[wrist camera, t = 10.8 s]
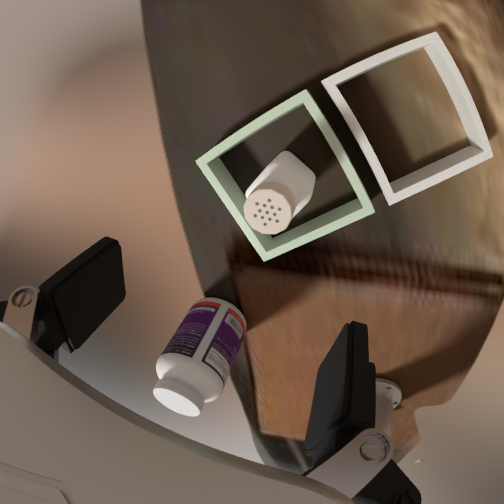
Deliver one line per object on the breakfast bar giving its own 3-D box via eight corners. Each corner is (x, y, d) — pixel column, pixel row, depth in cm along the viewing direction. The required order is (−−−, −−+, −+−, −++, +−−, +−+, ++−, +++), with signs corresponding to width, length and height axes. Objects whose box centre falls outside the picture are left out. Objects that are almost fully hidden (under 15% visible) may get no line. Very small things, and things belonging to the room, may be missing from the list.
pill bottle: (189, 321, 40) (141, 398, 28) (199, 284, 35) (141, 369, 23) (239, 345, 39) (203, 428, 27) (257, 310, 35) (218, 407, 23)
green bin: (370, 200, 24) (375, 212, 22) (270, 247, 30) (263, 261, 27) (308, 91, 21) (305, 89, 19) (208, 154, 27) (195, 161, 24)
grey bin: (478, 150, 18) (493, 156, 16) (383, 194, 24) (389, 205, 21) (425, 38, 15) (436, 31, 12) (322, 84, 20) (320, 81, 18)
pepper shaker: (259, 176, 26) (225, 212, 18) (286, 146, 24) (262, 169, 16) (290, 203, 27) (270, 251, 19) (318, 175, 25) (311, 212, 17)
